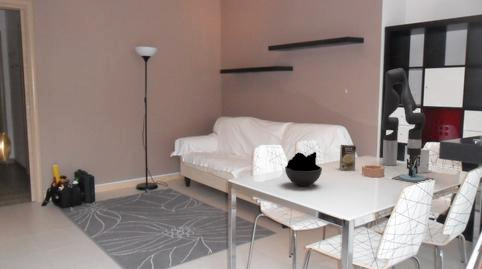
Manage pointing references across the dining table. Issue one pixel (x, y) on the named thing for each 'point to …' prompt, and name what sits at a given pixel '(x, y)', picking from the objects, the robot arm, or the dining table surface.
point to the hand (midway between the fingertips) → (412, 174)
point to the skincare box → (424, 161)
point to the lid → (414, 177)
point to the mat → (408, 180)
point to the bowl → (372, 171)
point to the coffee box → (347, 157)
